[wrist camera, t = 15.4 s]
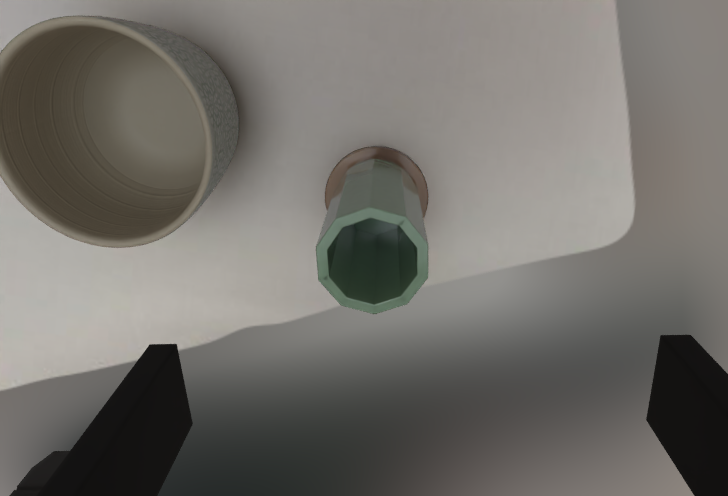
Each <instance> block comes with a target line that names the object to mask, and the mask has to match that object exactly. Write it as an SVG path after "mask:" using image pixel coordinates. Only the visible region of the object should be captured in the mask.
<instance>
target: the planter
mask: <svg viewBox="0 0 728 496" xmlns="http://www.w3.org/2000/svg"><path fill="white" fill-rule="evenodd" d="M238 131H239V118H238V109H237V105H236V101H235V97H234V94H233V92H232V89H231V87H230V85H229V83H228V81H227V79H226V77H225V75H224V74H223V72H222V71H221V69H220V68H219V67H218V65H217V64H216V63H215V62H214V61H213V60H212V59H211V58H210V57H209V56H208V55H207V54H206V53H205V52H204V51H203V50H202V49H200V48H199V47H198V46H196V45H195V44H193V43H192V42H190V41H189V40H187V39H185V38H183V37H181V36H179V35H177V34H174V33H172V32H170V31H167V30H164V29H161V28H158V27H154V26H151V25H147V24H142V23H137V22H132V21H128V20H122V19H116V18H108V17H99V16H66V17H59V18H54V19H49V20H46V21H43V22H40V23H38V24H36V25H33V26H31V27H30V28H28V29H26V30H24V31H23V32H21V33H20V34H19V35H17V36H16V37H15V38H14V39H12V40H11V41H10V42H9V43H8V44H7V45H6V47H5V48H4V49H3V50H2V51H1V53H0V176H1V178H2V179H3V181H4V182H5V184H6V185H7V187H8V188H9V190H10V191H11V192H12V193H13V195H14V196H15V197H16V198H17V199H18V200H19V202H20V203H21V204H22V205H23V206H24V207H25V208H26V209H27V210H28V211H29V212H31V213H32V214H33V215H34V216H35V217H37V218H38V219H39V220H41V221H42V222H43V223H45V224H46V225H48V226H49V227H51V228H52V229H54V230H56V231H58V232H60V233H62V234H64V235H66V236H68V237H70V238H73V239H75V240H78V241H81V242H84V243H88V244H92V245H97V246H103V247H113V248H124V247H134V246H140V245H144V244H148V243H151V242H154V241H157V240H159V239H161V238H163V237H165V236H167V235H169V234H170V233H172V232H173V231H175V230H176V229H178V228H179V227H180V226H181V225H183V224H184V223H185V222H186V221H187V220H188V219H189V218H190V217H191V216H192V215H193V214H194V213H195V212H196V211H197V210H198V209H199V207H200V206H201V205H202V204H203V203H204V201H205V200H206V199H207V198H208V196H209V195H210V194H211V192H212V191H213V189H214V188H215V186H216V185H217V184H218V182H219V181H220V179H221V178H222V176H223V174H224V173H225V171H226V169H227V167H228V165H229V163H230V161H231V159H232V156H233V154H234V151H235V148H236V144H237V139H238Z"/></svg>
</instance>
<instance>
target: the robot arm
mask: <svg viewBox="0 0 728 496" xmlns="http://www.w3.org/2000/svg"><path fill="white" fill-rule="evenodd" d="M646 420H647V422H648V423H649V425H650V427H651V428H652V430H653V431H654V433H655V434H656V436H657V437H658V439H659V441H660V442H661V444H662V445H663V447H664V449H665V450H666V452H667V453H668V455H669V456H670V458H671V459H672V461H673V463H674V464H675V465H676V467H677V469H678V471H679V472H680V474H681V475H682V477H683V478H684V480H685V482H686V483H687V485H688V486H689V488H690V489H691V491H692V493H693V494H694V495H695V496H728V374H727V373H726V372H725V371H724V370H723V369H722V367H721V366H720V365H719V364H718V363H716V361H715V360H714V359H713V358H712V357H711V356H710V355H709V354H708V353H707V352H706V351H705V350H704V349H703V348H702V346H701V345H700V344H699V343H698V342H697V341H696V340H695V339H694V338H693V337H692V336H691V335H661V336H660V343H659V348H658V354H657V360H656V366H655V372H654V378H653V384H652V389H651V396H650V401H649V408H648V413H647V419H646ZM191 426H192V419H191V414H190V409H189V404H188V399H187V394H186V389H185V384H184V379H183V374H182V369H181V364H180V359H179V354H178V349H177V344H152V345H149V346H148V348H147V349H146V350H145V352H144V353H143V354H142V356H141V357H140V358H139V360H138V361H137V362H136V364H135V365H134V367H133V368H132V369H131V370H130V372H129V373H128V374H127V376H126V377H125V378H124V380H123V381H122V383H121V384H120V385H119V386H118V388H117V389H116V391H115V392H114V393H113V395H112V396H111V397H110V399H109V400H108V401H107V403H106V404H105V405H104V407H103V408H102V409H101V411H100V412H99V413H98V415H97V416H96V417H95V419H94V420H93V421H92V423H91V424H90V425H89V427H88V428H87V429H86V431H85V432H84V433H83V435H82V436H81V437H80V439H79V440H78V441H77V443H76V444H75V445H74V447H73V448H72V449H71V451H54V452H52V453H51V454H50V455H48V456H47V457H46V458H45V459H43V460H42V461H40V462H39V463H38V464H37V465H35V466H34V467H33V468H32V469H31V470H30V471H29V472H28V474H27V475H26V476H25V477H24V479H23V480H22V481H21V482H20V483H19V485H18V486H17V490H14V491H13V492H12V494H11V495H10V496H157V495H158V493H159V491H160V489H161V487H162V485H163V483H164V481H165V479H166V477H167V475H168V473H169V471H170V469H171V467H172V465H173V463H174V461H175V459H176V457H177V455H178V453H179V451H180V448H181V447H182V444H183V442H184V440H185V438H186V436H187V434H188V432H189V430H190V428H191Z"/></svg>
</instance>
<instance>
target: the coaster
mask: <svg viewBox="0 0 728 496" xmlns="http://www.w3.org/2000/svg"><path fill="white" fill-rule="evenodd" d="M370 159H382V160H387V161H390V162H393V163H395V164H397V165H398V166H400V167H401V168H403V169H404V170H405V171H406V172H407V173H408V174H409V176H410V177H411V179H412V181H413V182H414V184H415V185H416V187H417V189H418V194H419V199H420V204H421V210H422V215H423V217H424V215H425V212H426V209H427V204H428V190H427V185H426V181H425V179H424V176H423V174H422V172H421V170H420V169H419V168H418V166H417V165H416V164H415V163H414V162H413V161H412V160H411V159H410V158H409V157H408V156H406V155H405V154H403V153H401V152H399V151H397V150H395V149H391V148H388V147H381V146H373V147H366V148H361V149H359V150H356V151H354V152H352V153H350V154H348V155H347V156H346V157H344V158H343V159H342V160H341V161H340V162H339V163H338V164H337V165H336V166H335V168H334V169H333V171H332V172H331V174H330V177H329V179H328V182H327V185H326V191H325V203H326V208H327V211H328V208H329V205H330V201H331V198H332V195H333V192H334V190H335V188H336V187H337V185H338V183H339V181H340V179H341V178H342V176H343V175H344V174H345V172H346V171H347V170H348V169H349V168H351V167H352V166H354V165H355V164H357V163H359V162H362V161H365V160H370Z"/></svg>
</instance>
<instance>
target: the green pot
mask: <svg viewBox="0 0 728 496" xmlns="http://www.w3.org/2000/svg"><path fill="white" fill-rule="evenodd" d="M316 256H317V268H318V280H319V281H320V282H321V283H322V285H323V286H324V287H325V288H326V289H327V290H328V291H329V292H330V294H331V295H332V296H333V297H334V298H335V299H336V300H337V301H338V303H339V304H340V305H342V306H345V307H349V308H353V309H357V310H360V311H364V312H368V313H372V314H377V313H380V312H383V311H386V310H389V309H393V308H396V307H399V306H402V305H406V304H407V303H409V301H410V300H411V299H412V297H413V296H414V295H415V294H416V292H417V291H418V290H419V288H420V287H421V286H422V285H423V283H424V282H425V281H426V280H427V278H428V241H427V236H426V231H425V225H424V220H423V215H422V210H421V204H420V199H419V194H418V189H417V187H416V185H415V184H414V182H413V181H412V179H411V177H410V176H409V174H408V173H407V172H406V171H405V170H404V169H403V168H401V167H400V166H398V165H397V164H395V163H393V162H390V161H387V160H382V159H370V160H365V161H362V162H359V163H357V164H355V165H354V166H352V167H351V168H349V169H348V170H347V171H346V172H345V174H344V175H343V176H342V178H341V179H340V181H339V183H338V185H337V187H336V188H335V190H334V192H333V195H332V198H331V201H330V205H329V208H328V211H327V214H326V217H325V220H324V223H323V227H322V230H321V233H320V236H319V239H318V242H317V246H316Z"/></svg>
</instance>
